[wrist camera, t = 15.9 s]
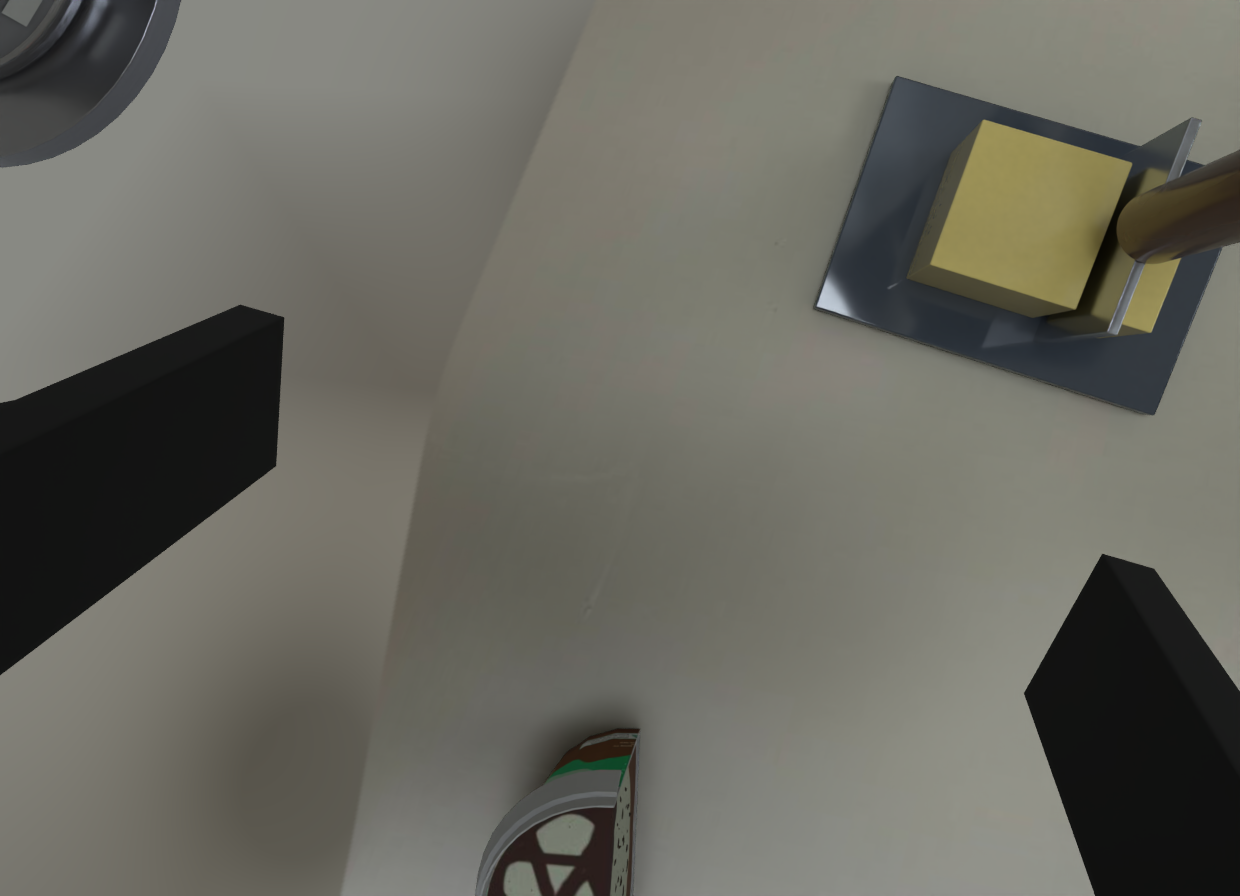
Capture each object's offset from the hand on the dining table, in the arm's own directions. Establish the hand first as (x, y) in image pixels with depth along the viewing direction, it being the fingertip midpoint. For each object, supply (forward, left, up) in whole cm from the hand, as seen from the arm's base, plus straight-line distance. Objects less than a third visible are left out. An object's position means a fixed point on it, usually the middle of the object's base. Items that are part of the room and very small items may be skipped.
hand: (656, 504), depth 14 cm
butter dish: (+5, +16, -29) cm, 34 cm away
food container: (+10, -19, -30) cm, 37 cm away
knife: (+6, +17, -28) cm, 33 cm away
